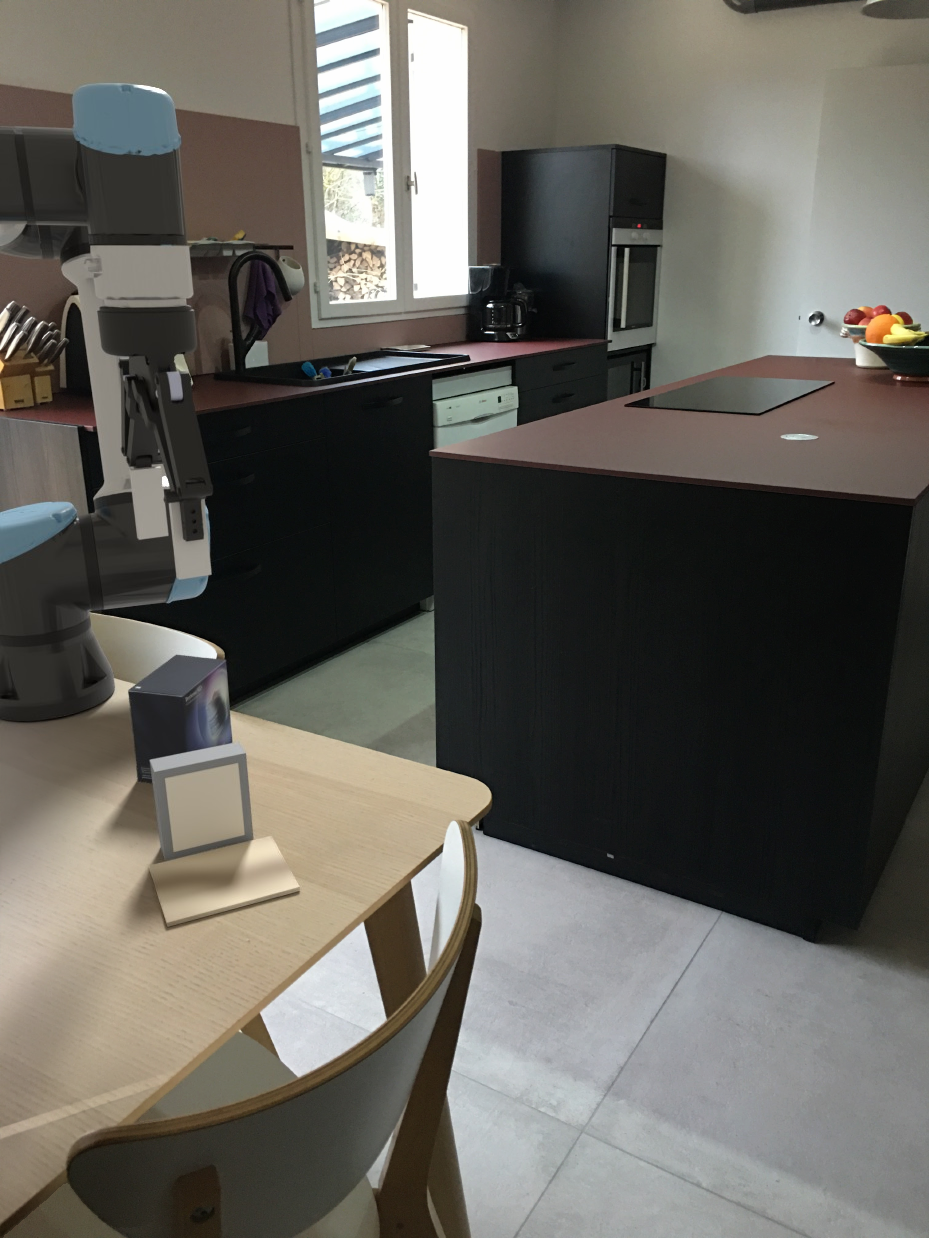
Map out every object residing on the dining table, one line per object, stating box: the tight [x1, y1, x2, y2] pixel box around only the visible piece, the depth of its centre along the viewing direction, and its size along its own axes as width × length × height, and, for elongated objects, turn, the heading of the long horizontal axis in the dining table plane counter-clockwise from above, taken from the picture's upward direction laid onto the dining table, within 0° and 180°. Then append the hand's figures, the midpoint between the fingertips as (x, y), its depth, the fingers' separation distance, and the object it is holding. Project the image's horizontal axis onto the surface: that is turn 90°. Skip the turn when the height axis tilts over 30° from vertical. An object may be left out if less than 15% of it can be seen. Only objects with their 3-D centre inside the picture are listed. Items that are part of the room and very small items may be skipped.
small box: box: [127, 654, 234, 784], centre depth 103 cm, size 11×6×10 cm, turn 168°
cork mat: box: [148, 835, 301, 928], centre depth 84 cm, size 9×11×1 cm
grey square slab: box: [150, 741, 255, 862], centre depth 88 cm, size 3×8×9 cm, turn 116°
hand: (172, 555), depth 86 cm, fingers open, 13 cm apart
